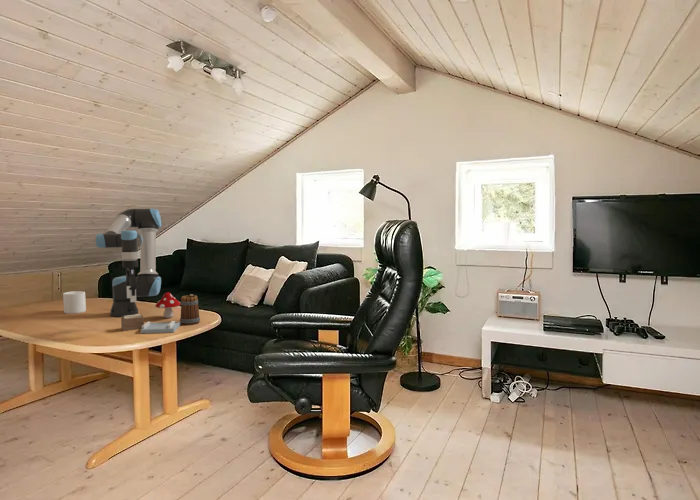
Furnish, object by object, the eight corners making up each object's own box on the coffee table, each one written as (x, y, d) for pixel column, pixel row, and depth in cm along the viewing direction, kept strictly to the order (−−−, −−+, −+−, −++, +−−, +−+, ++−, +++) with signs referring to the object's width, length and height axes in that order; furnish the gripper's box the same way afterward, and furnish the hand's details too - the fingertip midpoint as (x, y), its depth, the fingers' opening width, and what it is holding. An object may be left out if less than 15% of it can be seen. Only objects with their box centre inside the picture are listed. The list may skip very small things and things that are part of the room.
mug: (198, 324, 250) (197, 297, 249) (178, 325, 249) (177, 298, 248) (202, 318, 266) (202, 292, 265) (183, 319, 264) (183, 293, 263)
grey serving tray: (149, 326, 247) (149, 320, 247) (180, 325, 249) (180, 319, 249) (140, 333, 232) (140, 326, 232) (173, 332, 235) (173, 325, 234)
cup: (83, 308, 293) (82, 290, 292) (88, 311, 284) (87, 292, 283) (62, 311, 285) (61, 292, 284) (66, 314, 276) (65, 295, 275)
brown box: (121, 328, 243) (121, 315, 242) (142, 326, 248) (141, 313, 248) (123, 331, 237) (122, 318, 236) (144, 328, 242) (143, 315, 242)
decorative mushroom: (178, 313, 278) (177, 289, 276) (184, 318, 266) (183, 292, 265) (153, 316, 270) (152, 291, 269) (158, 321, 258) (157, 295, 257)
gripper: (119, 258, 248) (120, 297, 250) (125, 262, 227) (126, 304, 229) (134, 257, 252) (135, 295, 254) (141, 261, 231) (143, 302, 233)
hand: (131, 299), depth 241 cm, fingers open, 13 cm apart
